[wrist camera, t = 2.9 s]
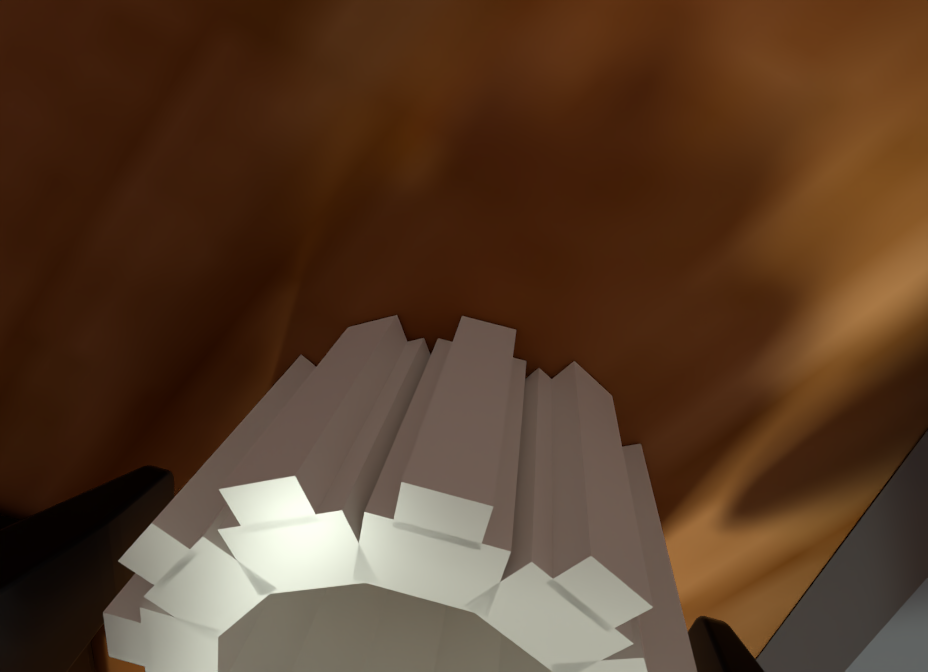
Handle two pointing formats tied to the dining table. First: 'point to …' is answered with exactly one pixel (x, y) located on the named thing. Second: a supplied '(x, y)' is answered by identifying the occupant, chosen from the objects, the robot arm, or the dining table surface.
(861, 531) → the carrier board
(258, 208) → the dining table surface
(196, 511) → the planet gear
